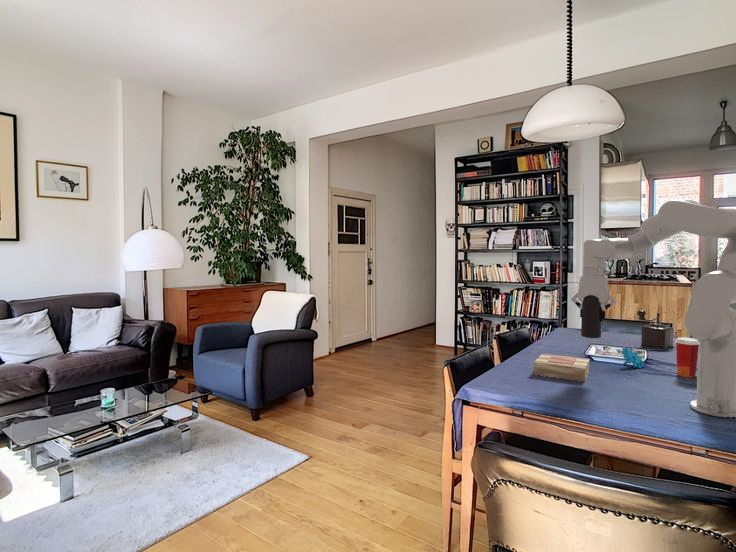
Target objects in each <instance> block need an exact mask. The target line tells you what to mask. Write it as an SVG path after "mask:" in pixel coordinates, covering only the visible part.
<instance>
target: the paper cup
mask: <svg viewBox="0 0 736 552" xmlns="http://www.w3.org/2000/svg"><path fill="white" fill-rule="evenodd" d="M674 342H675V346H676V351H675V352H676V369H677V370H676V372H677V375H678V376H679V377H683V378H695V377H696V376H697V375H696V374H697V368H698V351H699V344H700V340H697V339H695V338H693V337H677V338H676V339H675V341H674Z"/></svg>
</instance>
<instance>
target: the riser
mask: <svg viewBox="0 0 736 552" xmlns="http://www.w3.org/2000/svg"><path fill="white" fill-rule="evenodd" d="M590 361H591V359H590V358H584V357H577V356H576V357H574V356H566V355H559V354H558V355H557V354H549V353H541V354H539V356H538V357H537V358H536V359H535V361H533V376H538V375H540V377H546V376H548V378H553V377H556V378H555V379H560V378H563V379H562V380H568V379H569V380H570V381H575V380H577V381H576V382H583V381H584V383H585V382H586V380H587V379H588V378H587V377H588V375H589V374H590V369H591V367H590V364H591V362H590ZM569 380H568V381H569Z"/></svg>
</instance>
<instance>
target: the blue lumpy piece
mask: <svg viewBox="0 0 736 552" xmlns="http://www.w3.org/2000/svg"><path fill="white" fill-rule="evenodd" d="M633 351H634V349H633V348H632V347H630V348H629V346H625V347H623V348H622V349H621V354H622V355H623V359H625V361H624V362H623V363H622V364H623V365H625V366H626V365H628V364H632V367H634V368H637V369H642V368H643V367H644V366H645V365H644V364H645V361H644V360H642V359H643V358H644V356H643V355H639V353H638V351H634V352H633ZM633 363H634V364H633Z"/></svg>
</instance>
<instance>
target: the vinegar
mask: <svg viewBox="0 0 736 552" xmlns="http://www.w3.org/2000/svg"><path fill="white" fill-rule="evenodd" d="M601 309H602V308H601V303H600V302H599V298H598V297H596V296H594V295H588V296H586V297H584V300H583V302H582V317H580V319H581V324H580V327H581V328H580V333H581V334H580V336H581V337H583V338H587V339H599V338H601V337H602V321H600V316H601Z"/></svg>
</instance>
